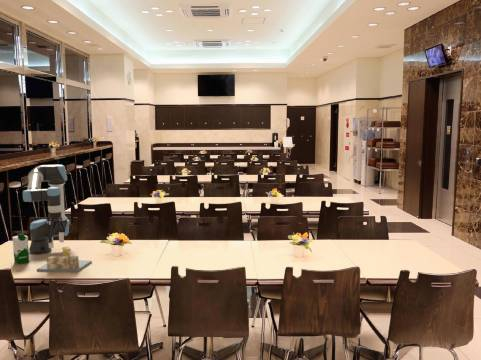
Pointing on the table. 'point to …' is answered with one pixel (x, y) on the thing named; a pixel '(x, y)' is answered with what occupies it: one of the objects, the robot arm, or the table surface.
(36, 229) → the robot arm
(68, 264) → the link
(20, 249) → the milk carton
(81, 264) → the deck
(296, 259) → the table surface
